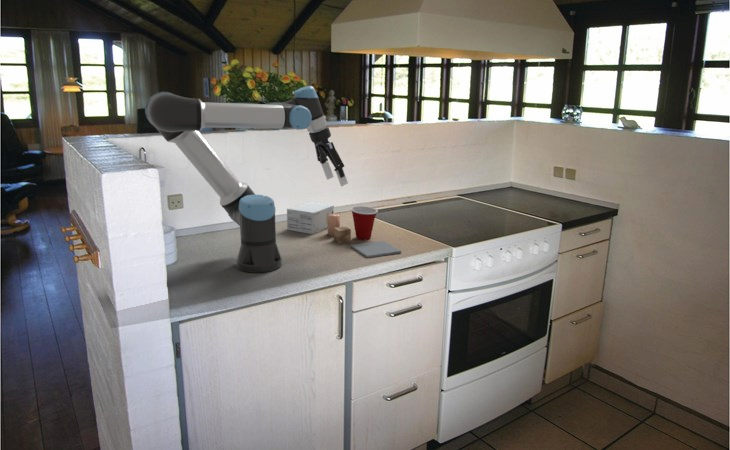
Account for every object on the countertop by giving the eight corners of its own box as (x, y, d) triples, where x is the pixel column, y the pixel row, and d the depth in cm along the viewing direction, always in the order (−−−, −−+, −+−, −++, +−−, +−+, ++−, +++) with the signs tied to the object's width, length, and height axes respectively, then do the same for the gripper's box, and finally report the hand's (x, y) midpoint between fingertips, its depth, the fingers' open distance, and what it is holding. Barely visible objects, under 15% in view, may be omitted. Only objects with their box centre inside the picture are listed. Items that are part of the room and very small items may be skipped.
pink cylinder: (330, 236, 222) (330, 217, 220) (325, 233, 226) (325, 214, 224) (341, 234, 224) (341, 215, 222) (336, 231, 228) (336, 213, 226)
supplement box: (313, 234, 224) (312, 212, 222) (286, 230, 230) (286, 208, 228) (334, 225, 239) (334, 204, 236) (309, 221, 245) (309, 200, 242)
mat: (367, 258, 196) (367, 255, 196) (350, 247, 208) (350, 245, 208) (401, 253, 202) (401, 250, 202) (383, 242, 214) (383, 240, 214)
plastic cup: (374, 242, 214) (375, 212, 211) (347, 240, 216) (347, 211, 213) (379, 234, 225) (380, 206, 221) (353, 233, 227) (354, 204, 223)
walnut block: (339, 243, 213) (339, 231, 212) (334, 239, 218) (334, 227, 216) (350, 241, 215) (350, 229, 214) (345, 238, 220) (345, 226, 218)
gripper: (340, 128, 190) (359, 183, 198) (314, 122, 211) (333, 171, 220) (321, 136, 187) (341, 192, 196) (297, 129, 209) (316, 179, 218)
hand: (337, 181), depth 208 cm, fingers open, 13 cm apart
